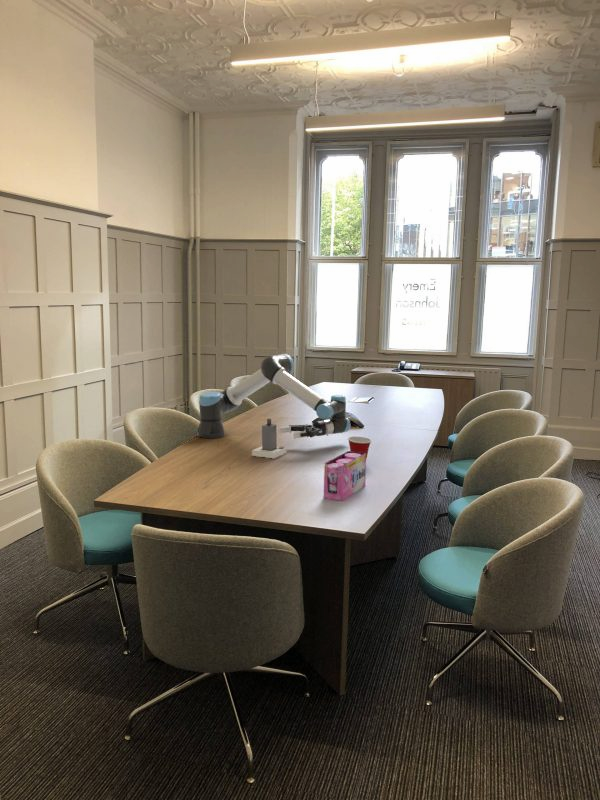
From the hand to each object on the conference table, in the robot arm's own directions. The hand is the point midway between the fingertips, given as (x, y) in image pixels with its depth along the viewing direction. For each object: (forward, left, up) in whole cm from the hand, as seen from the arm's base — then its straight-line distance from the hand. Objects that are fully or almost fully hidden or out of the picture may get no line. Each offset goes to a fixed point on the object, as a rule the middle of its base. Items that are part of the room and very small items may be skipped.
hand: (286, 433), depth 305 cm
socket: (-5, -8, -10) cm, 14 cm away
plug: (-5, -8, -9) cm, 13 cm away
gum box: (+50, -45, -10) cm, 68 cm away
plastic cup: (+40, -5, -10) cm, 42 cm away
